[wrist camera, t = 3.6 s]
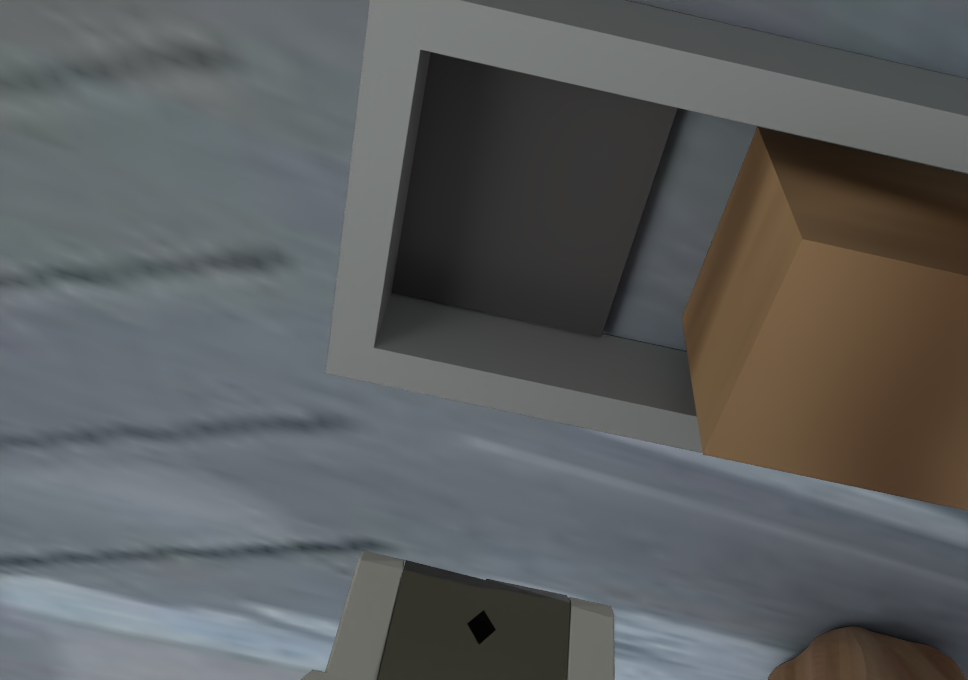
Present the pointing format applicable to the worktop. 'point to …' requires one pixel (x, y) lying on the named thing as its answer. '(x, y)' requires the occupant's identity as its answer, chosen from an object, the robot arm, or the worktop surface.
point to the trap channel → (564, 189)
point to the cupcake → (867, 659)
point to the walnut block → (837, 320)
